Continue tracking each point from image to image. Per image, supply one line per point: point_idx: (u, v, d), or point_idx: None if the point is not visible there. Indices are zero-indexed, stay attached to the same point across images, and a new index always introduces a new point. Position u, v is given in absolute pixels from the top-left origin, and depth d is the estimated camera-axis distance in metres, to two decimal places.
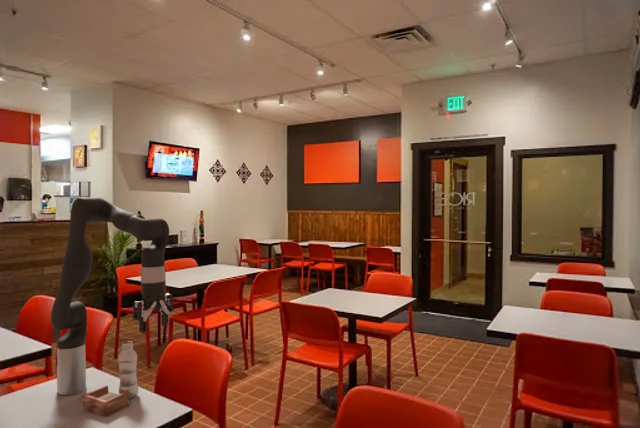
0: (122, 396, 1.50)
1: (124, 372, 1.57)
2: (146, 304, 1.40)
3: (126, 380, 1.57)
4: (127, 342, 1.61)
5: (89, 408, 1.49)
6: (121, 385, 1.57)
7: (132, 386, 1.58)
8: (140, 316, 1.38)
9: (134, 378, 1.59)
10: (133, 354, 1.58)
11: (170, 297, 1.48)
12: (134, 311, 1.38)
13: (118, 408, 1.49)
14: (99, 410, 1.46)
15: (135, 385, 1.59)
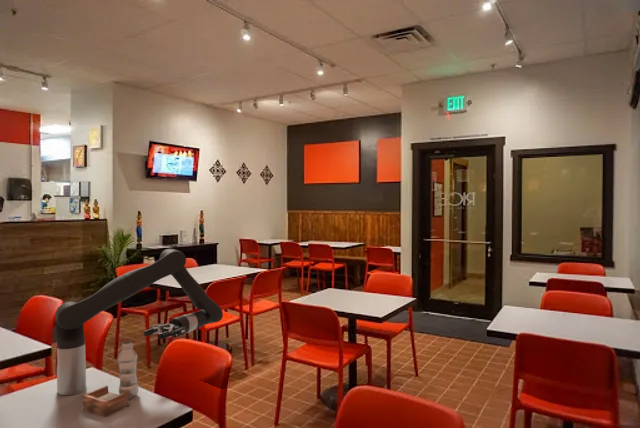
0: (122, 396, 1.50)
1: (124, 372, 1.57)
2: (177, 332, 1.75)
3: (126, 380, 1.57)
4: (127, 342, 1.61)
5: (89, 408, 1.49)
6: (121, 385, 1.57)
7: (132, 386, 1.58)
8: None
9: (134, 378, 1.59)
10: (133, 354, 1.58)
11: (160, 329, 1.80)
12: (179, 330, 1.72)
13: (118, 408, 1.49)
14: (99, 410, 1.46)
15: (135, 385, 1.59)
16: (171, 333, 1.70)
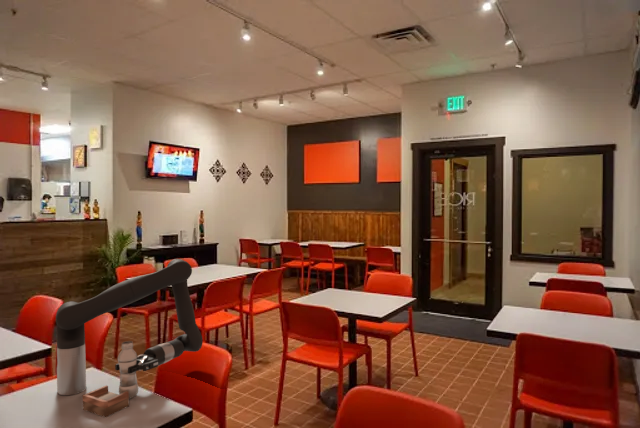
0: (122, 396, 1.50)
1: (124, 372, 1.57)
2: None
3: (126, 380, 1.57)
4: (127, 342, 1.61)
5: (89, 408, 1.49)
6: (121, 385, 1.57)
7: (132, 386, 1.58)
8: None
9: (134, 378, 1.59)
10: (133, 354, 1.58)
11: None
12: (151, 363, 1.61)
13: (118, 408, 1.49)
14: (99, 410, 1.46)
15: (135, 385, 1.59)
16: (141, 366, 1.59)
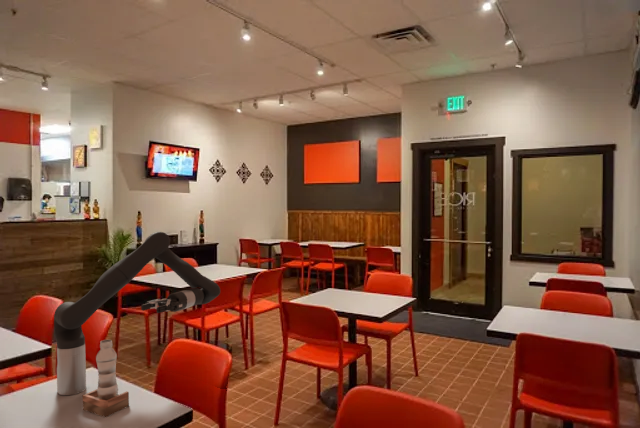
0: (122, 396, 1.50)
1: (102, 372, 1.49)
2: None
3: (105, 381, 1.49)
4: (106, 341, 1.53)
5: (89, 408, 1.49)
6: (99, 386, 1.49)
7: (110, 387, 1.50)
8: None
9: (113, 379, 1.51)
10: (112, 353, 1.51)
11: None
12: (177, 305, 1.71)
13: (118, 408, 1.49)
14: (99, 410, 1.46)
15: (114, 386, 1.51)
16: (168, 307, 1.69)
